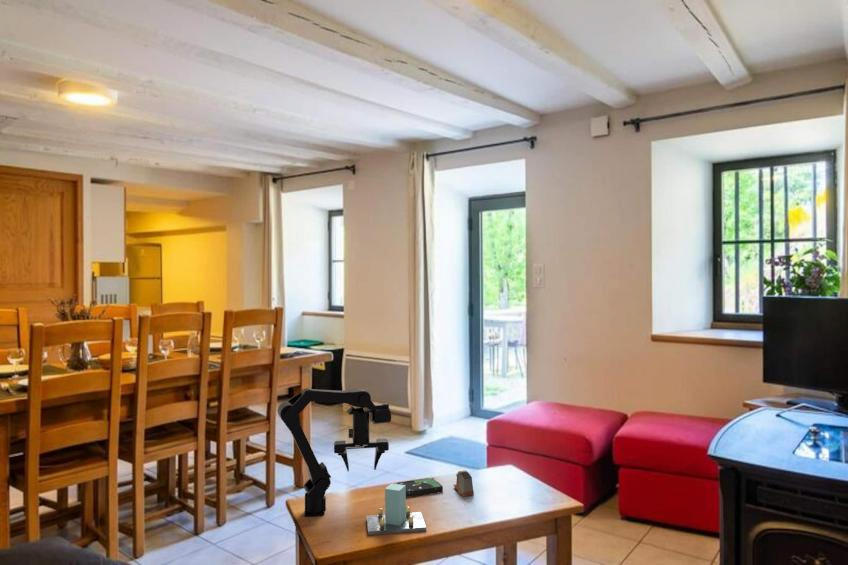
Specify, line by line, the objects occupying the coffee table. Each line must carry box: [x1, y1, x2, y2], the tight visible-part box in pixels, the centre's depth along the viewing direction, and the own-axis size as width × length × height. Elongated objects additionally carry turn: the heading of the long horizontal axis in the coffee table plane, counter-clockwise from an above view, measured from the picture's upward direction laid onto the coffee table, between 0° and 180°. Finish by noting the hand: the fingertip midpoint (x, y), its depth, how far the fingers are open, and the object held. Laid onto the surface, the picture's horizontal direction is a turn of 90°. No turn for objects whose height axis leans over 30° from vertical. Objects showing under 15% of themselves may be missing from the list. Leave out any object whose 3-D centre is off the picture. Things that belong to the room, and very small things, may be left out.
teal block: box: [384, 483, 407, 526], centre depth 184 cm, size 5×5×11 cm
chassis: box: [365, 505, 427, 536], centre depth 184 cm, size 18×12×4 cm, turn 98°
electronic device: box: [453, 469, 475, 497], centre depth 212 cm, size 4×10×8 cm, turn 19°
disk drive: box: [396, 477, 444, 498], centre depth 214 cm, size 10×3×15 cm
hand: (361, 470), depth 200 cm, fingers open, 9 cm apart
